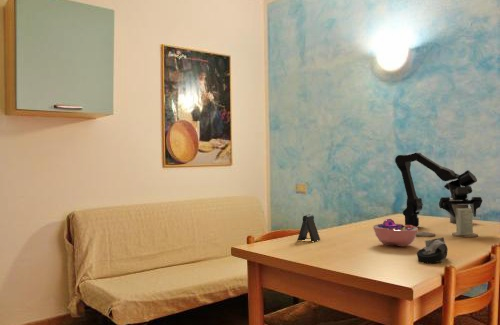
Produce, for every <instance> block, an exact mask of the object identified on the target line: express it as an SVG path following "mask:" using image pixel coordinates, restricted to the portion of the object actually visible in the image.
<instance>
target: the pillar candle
mask: <svg viewBox="0 0 500 325" xmlns="http://www.w3.org/2000/svg"><path fill="white" fill-rule="evenodd" d="M450 200H453V199H452V198H451V197H450ZM466 200H469V198H468V197H467V198H466ZM452 207H453V210H454V213H455V217H453V216H452V215H451V214H450V213H449V223H451V224H456V209H457V208H469V205H457V204H455V205H453V204H452Z"/></svg>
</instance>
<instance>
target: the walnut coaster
mask: <svg viewBox="0 0 500 325" xmlns="http://www.w3.org/2000/svg"><path fill="white" fill-rule="evenodd" d="M452 236H453V237H457V238H467V239H468V238H477V237H479V235H478V233H474V232H473V235H459V234H457V231H456V232H452Z"/></svg>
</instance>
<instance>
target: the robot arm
mask: <svg viewBox="0 0 500 325" xmlns="http://www.w3.org/2000/svg"><path fill="white" fill-rule="evenodd" d="M394 162H395V164H396V166H397V168H398V170H399V171H400V172H401V176H402V180H403V186H404V189H405V193H406V208H405V209H403V211H402V215H403V216H404V225H412V226H415V227H417V228H418V227H419V226H420V218H419V216H418V215H419V214H420V212H421V211H422V210H423V206H424V204H423V200H422V199H423V198H421V197H418V196H417V193H416V190H415V188H416V187H415V185H414V182H413V177H412V173H411V166H412V162H418V163H420V164H421V165H423V166H424V167H426V168H427V169H429V170H430V171H432V172H434V174H435V175H436V176H437V177H438V178H439V179H440V180H441V181H442V182H446V183H445V185H444V187H443V188H445V189H446V190H449V192H450V197H449V196H447V197H445V196H443V197H440V198H439V202H438V206H439V208H440V209H443V210H445V211H446V212H447V213H449V215H450V214H451V215H452V216H453V217H455V213H454V210H453V207H452V204H453V205H455V204H457V205H468V206H470V209H472V216H473V217H477V210H478V209H479V208H481V206H482V203H483V198H482V197H481V196H472V197H471V199H468V200H466V198H468V195H469V194H472V193H473V189H472V185H474V184H475V183H476V182H478V179H477V177H476V175H475V174H473V173H472V172H471V171H470V170H466V171H464V172H463V173H461V174H458V173H456V172H455V171H454V170H453V169H450V168H448V167H445V166H441V165H440V164H438V163H436V162H435V161H433V160H432V159H430V158H429V157H426V156H425V155H424V154H423V153H421V152H414V153H411V154H397V156H396V157H395V159H394ZM450 198H452V199H453V200H450Z"/></svg>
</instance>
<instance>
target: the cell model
mask: <svg viewBox="0 0 500 325" xmlns="http://www.w3.org/2000/svg"><path fill="white" fill-rule="evenodd" d="M372 228H373V230H374V233H375V234H374V235H375V237H376V238H377V239H378V241H379V242H380V243H381V244H383V245H386V246H392V247H393V246H394V247H395V246H396V247H406V246H410V245H411V244H412V243H414V241H415V240H416V237H417V236H416V233H417V232H419V228H418V227H415V226H412V225H405V223H403V224H402V223H395V221H394V220H393V219H392V218H386V219H385V220H384V221H383V223H380V224H379V223H378V224H375V225H373V226H372Z"/></svg>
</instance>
